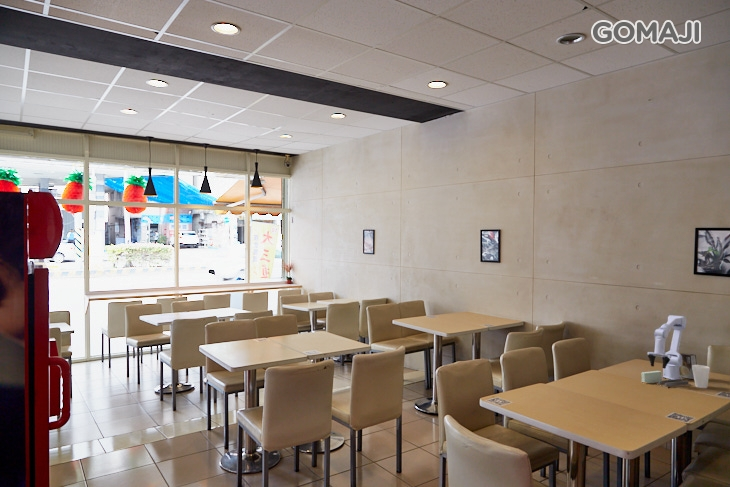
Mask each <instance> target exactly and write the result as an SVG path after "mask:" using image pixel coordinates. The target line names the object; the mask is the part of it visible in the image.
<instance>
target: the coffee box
mask: <svg viewBox="0 0 730 487" xmlns="http://www.w3.org/2000/svg"><path fill="white" fill-rule="evenodd" d="M679 354H680V355H681V356H682V365H681V366H679V373H680V378H683V379H690V380H694V375H693V370H692V365H698V363H697V362H698V361H697V354H693V353H692V354H691V353H685V352H681V353H680V352H679Z"/></svg>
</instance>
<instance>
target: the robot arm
mask: <svg viewBox="0 0 730 487" xmlns="http://www.w3.org/2000/svg"><path fill="white" fill-rule="evenodd" d="M686 326H687V317H686V316H683V315H672V314H669V315H668V316H667V322H666V323H663V324H662V325H661V326H660V327H658V328H657V329H655V330H654V333H653V335H654V342H655V343H654V350H653V351H654V352H653V351H647V353H646V354H647V357H648V359H649V362H650V367H655V359H656V357H660V358H662V378H666V379H667V380H672V379H682V380H684V378H683V377H680V372H679V366H681V365H682V356H681V355H680V351H679V350H680V345H681V340H682V335H683V332H684V330H686ZM672 329H673V334H672V338H671V343H670V349H669V350H668V351H667V352H666V351H665V350H666V339H667V338H668V336H669V333H670V332H671V331H672Z"/></svg>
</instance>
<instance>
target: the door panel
mask: <svg viewBox="0 0 730 487" xmlns="http://www.w3.org/2000/svg"><path fill="white" fill-rule="evenodd" d="M640 375H641V383H642V382H648V383H647V384H654V383H658V381H663V380H662V378H663V377H662V376H663V372H662V371H661V370H653V371H652V370H651V371H642V372H641V373H640Z"/></svg>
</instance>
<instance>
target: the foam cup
mask: <svg viewBox="0 0 730 487" xmlns="http://www.w3.org/2000/svg"><path fill="white" fill-rule="evenodd" d="M692 370H693V375H694V379H693V380H694V385H695V387H696V388H701V389H707V388H708V386H709V377H710V366H707V365H701V364H697V365H692Z"/></svg>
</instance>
